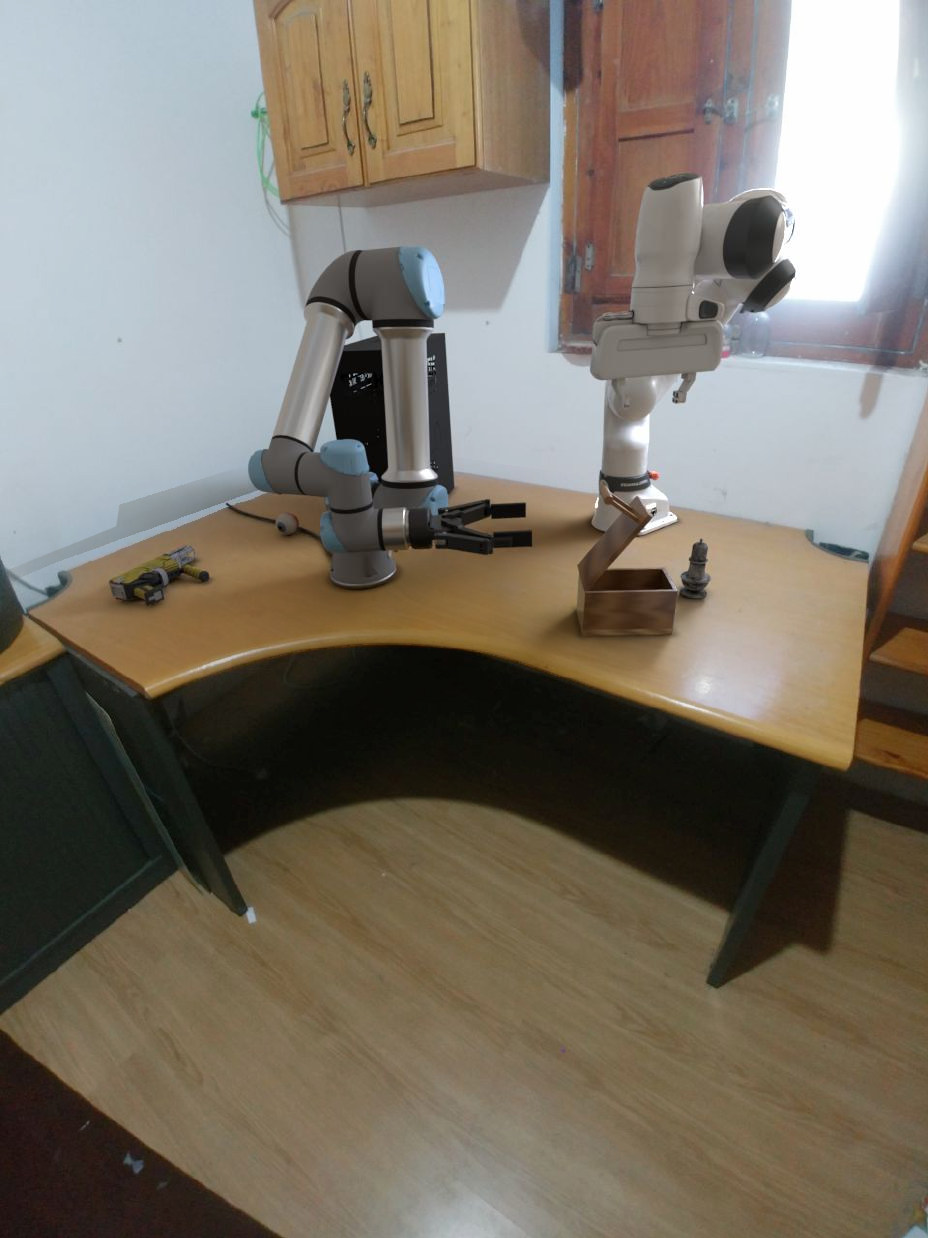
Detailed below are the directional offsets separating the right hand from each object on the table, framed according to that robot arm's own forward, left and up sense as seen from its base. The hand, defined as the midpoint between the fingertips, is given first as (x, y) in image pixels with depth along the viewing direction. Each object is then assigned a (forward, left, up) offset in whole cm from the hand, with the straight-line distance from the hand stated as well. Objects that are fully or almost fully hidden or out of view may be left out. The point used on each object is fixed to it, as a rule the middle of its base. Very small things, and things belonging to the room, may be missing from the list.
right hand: (651, 405), depth 96 cm
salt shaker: (-18, -3, -40) cm, 44 cm away
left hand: (+17, -8, -19) cm, 27 cm away
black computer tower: (+15, -86, -40) cm, 96 cm away
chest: (+1, -1, -40) cm, 40 cm away
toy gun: (+80, -66, -40) cm, 111 cm away
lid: (+4, -2, -24) cm, 24 cm away
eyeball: (+50, -83, -40) cm, 104 cm away
